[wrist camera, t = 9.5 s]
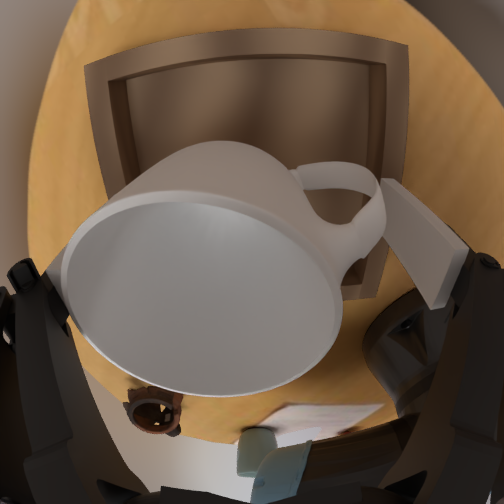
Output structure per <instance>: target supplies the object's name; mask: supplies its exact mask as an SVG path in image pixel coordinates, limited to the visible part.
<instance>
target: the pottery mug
mask: <svg viewBox="0 0 504 504" xmlns="http://www.w3.org/2000/svg"><path fill="white" fill-rule="evenodd" d="M128 399H129V402H130V403H128V402H125V403H124V402H123V406H124V408H125V410H126V411H127V415H128V417H129V419H130V421H131V422H132V424H134V425H135V426H136V427H137V428H139V429H140V430H142V431H146V432H147V433H152V434H164V433H165V434H167V435H169V436H171V437H175V436H177V435H179V434H180V433H181V427H180V424H179V421H180V416H181V406H180V404H181V402H182V399H183V393H178V392H174V391H170V390H167V389H163V388H160V387H157V386H148V388H145V387H142V388H139V389H137V390H134V391H133V390H132V389H131V390H129V389H128ZM160 404H162V405H164V406H166V407H165V409H164V410H163V411H162V412H161V408H160ZM156 422H157V423H160V424H159V425H154V424H155V423H156Z"/></svg>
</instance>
